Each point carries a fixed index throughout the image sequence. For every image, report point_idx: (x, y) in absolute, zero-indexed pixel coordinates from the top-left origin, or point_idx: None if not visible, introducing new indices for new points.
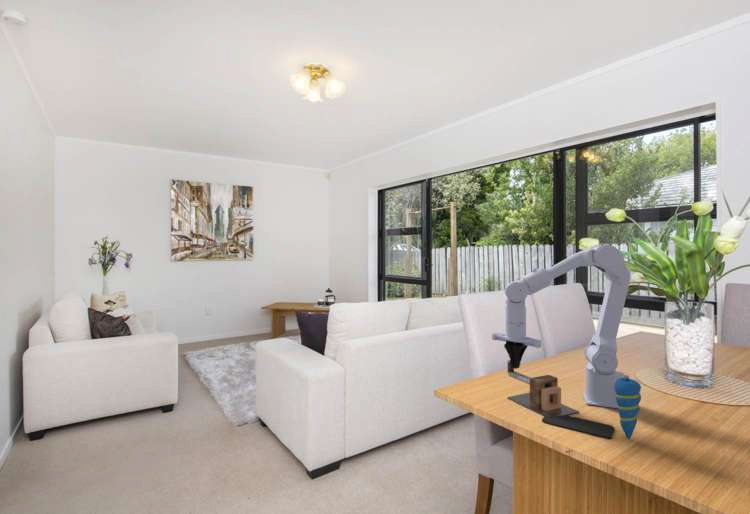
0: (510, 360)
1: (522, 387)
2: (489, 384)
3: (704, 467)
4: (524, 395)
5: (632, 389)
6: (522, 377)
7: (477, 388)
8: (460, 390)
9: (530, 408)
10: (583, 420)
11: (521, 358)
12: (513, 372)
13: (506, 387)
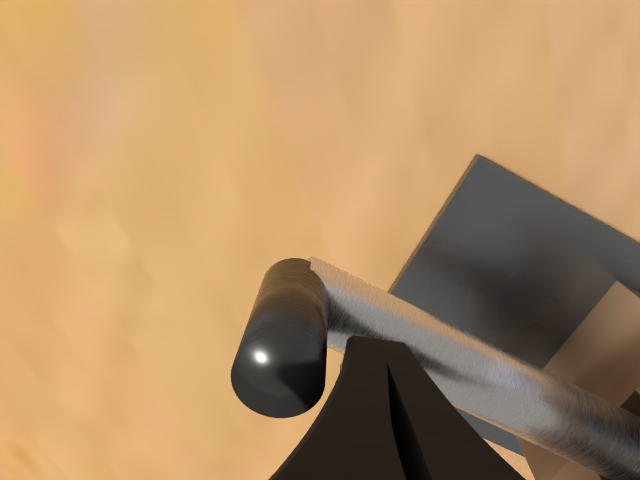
0: (268, 369)
1: (357, 63)
2: (103, 171)
3: None
4: (435, 279)
5: None
6: (462, 409)
7: (89, 308)
8: (33, 402)
9: (518, 453)
10: None
11: (459, 418)
12: (344, 352)
13: (245, 154)
